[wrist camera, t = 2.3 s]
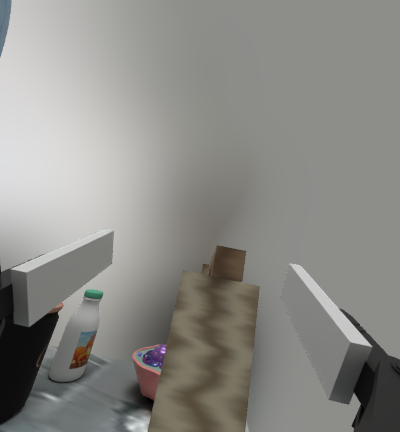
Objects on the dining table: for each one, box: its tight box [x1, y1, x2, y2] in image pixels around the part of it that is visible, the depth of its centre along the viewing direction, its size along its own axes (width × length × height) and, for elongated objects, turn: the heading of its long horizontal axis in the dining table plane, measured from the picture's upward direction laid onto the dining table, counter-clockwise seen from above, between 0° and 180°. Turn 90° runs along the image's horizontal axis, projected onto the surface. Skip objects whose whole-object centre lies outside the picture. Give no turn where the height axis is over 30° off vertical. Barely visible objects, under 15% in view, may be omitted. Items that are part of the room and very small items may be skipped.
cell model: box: [133, 344, 167, 401], centre depth 49 cm, size 17×20×11 cm
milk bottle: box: [49, 290, 103, 382], centre depth 51 cm, size 8×8×20 cm
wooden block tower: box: [148, 264, 259, 432], centre depth 30 cm, size 12×9×32 cm
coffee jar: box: [0, 302, 63, 423], centre depth 37 cm, size 11×11×18 cm
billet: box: [208, 246, 246, 281], centre depth 32 cm, size 4×20×4 cm, turn 179°
